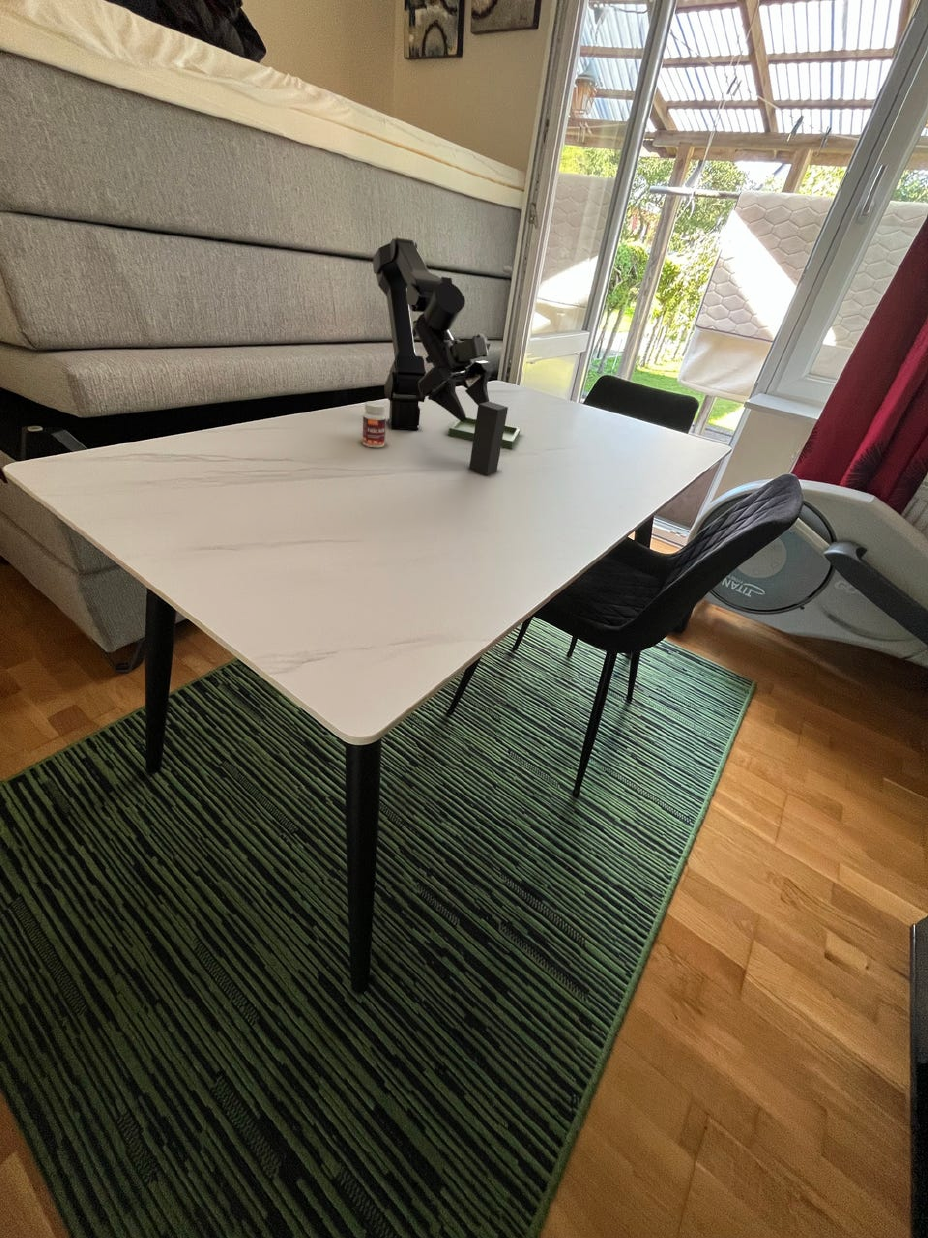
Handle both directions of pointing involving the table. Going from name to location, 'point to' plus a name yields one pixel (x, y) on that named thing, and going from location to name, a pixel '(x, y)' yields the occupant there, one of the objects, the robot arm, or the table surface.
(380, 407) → the pill bottle
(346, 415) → the table surface
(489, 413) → the tall black pillar
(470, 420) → the shallow green tray
